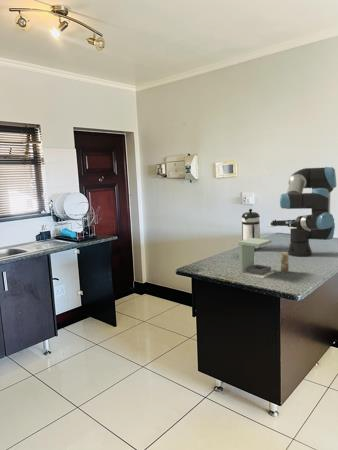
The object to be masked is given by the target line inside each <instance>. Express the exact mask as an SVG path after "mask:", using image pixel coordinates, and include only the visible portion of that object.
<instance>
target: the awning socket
mask: <svg viewBox="0 0 338 450" xmlns="http://www.w3.org/2000/svg"><path fill="white" fill-rule="evenodd" d="M271 243H272V239H266V238H265V239H264V238H260V239H258V238H249V239H246V240H240V241H238V268H239V269H238V271H239V272H238V273H239V274H240V273H241V275H246V276H249V277H256V278H260V279H261V278H262V279H264V278H266V277H268V276H270V275H272V274H274V273H275V272H276V271H273V270H272V267H271V266H267V265H261V264H258V263H256V264H255V251H254V246H255V247H259V248H262V247H264V246H267V245H269V244H271Z"/></svg>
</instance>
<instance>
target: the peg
mask: <svg viewBox="0 0 338 450" xmlns="http://www.w3.org/2000/svg"><path fill="white" fill-rule="evenodd" d="M280 272H281V273H282V274H283V273H284V274H288V273H289V254H288V251H287V252H286V251H284V252H283V251H282V252H280Z"/></svg>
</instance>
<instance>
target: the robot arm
mask: <svg viewBox="0 0 338 450" xmlns="http://www.w3.org/2000/svg"><path fill="white" fill-rule="evenodd" d="M335 169H336V168H334V167H332V166H331V167H329V166H325V167H308V168H307V167H305V168H301V169H299V170H297V171H295V172H293V173H292V174H291V175H290V176H289V178H288V182H287V183H288V188H287V191H286V192H285V193H281V194H280V195H279V206H280V208H281V209H285V210H286V209H287V210H292V209H293V210H295V209H299V210H301V209H303V210H305V209H306V210H307V209H308V210H309V209H311V214H305V215H298V216H297V217H296V218H295V219H286V220H276V219H274V220H272V221H268V227H269V228H273V227H288V229H289V230H290V236H289V237H290V241H289V242H290V243H289V244H288V245H289V246H288V249H287V253H288V256H291V257H292V256H293V257H310V256H312V249H311V245H310V240H323V241H324V240H325V241H327V240H332V239H333V238H334V234H335V229H336V227H335V225H336V224H335V218H334V215H333V214H332V213H331V193H332V192H333V190H334V189H336V188H337V178H336V177H337V175H336V170H335ZM304 189H311V192H304Z"/></svg>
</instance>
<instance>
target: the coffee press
mask: <svg viewBox="0 0 338 450" xmlns="http://www.w3.org/2000/svg"><path fill="white" fill-rule="evenodd" d="M260 223H261V222H260V214H259V213H258V212H255V211H253V209H252V208H249V209H248V211H247V212H244V213H242V215H241V231H242V232H241V238H242V240H246V239H249V238H258V239H261V238H260V237H261V236H260V232H261V231H260V229H261V228H260ZM242 240H241V241H242ZM256 249H259V250H261V249H262V247H255V246H254V252H256Z"/></svg>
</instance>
